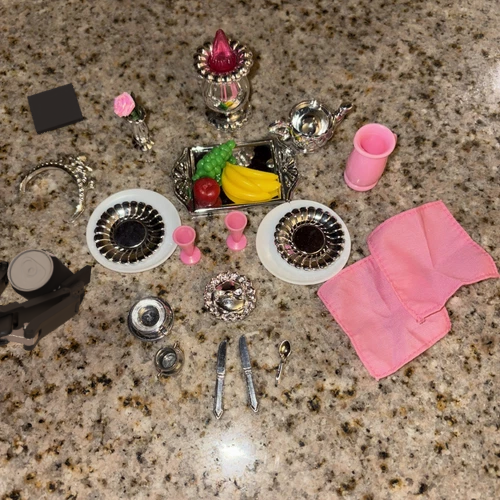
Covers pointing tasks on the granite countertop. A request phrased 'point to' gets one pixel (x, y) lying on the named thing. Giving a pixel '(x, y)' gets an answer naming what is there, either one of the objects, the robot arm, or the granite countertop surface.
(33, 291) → the beverage can
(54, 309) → the robot arm
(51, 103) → the mat
